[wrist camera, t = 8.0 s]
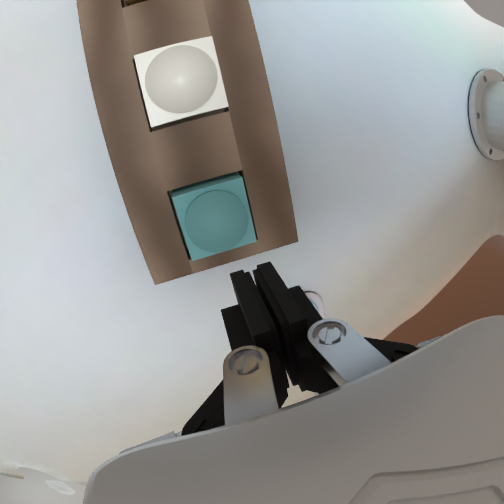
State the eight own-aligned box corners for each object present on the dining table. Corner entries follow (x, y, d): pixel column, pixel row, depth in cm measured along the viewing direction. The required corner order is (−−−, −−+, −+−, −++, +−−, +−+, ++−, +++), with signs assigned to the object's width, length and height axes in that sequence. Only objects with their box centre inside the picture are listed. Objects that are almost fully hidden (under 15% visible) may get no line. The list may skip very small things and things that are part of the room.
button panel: (220, -60, 16) (226, -76, 13) (285, 229, 28) (298, 241, 25) (81, -27, 14) (72, -41, 12) (156, 268, 27) (155, 284, 24)
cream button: (207, 46, 19) (213, 33, 15) (221, 108, 21) (230, 106, 18) (138, 64, 18) (132, 53, 15) (154, 127, 20) (150, 127, 17)
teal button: (234, 170, 24) (244, 178, 21) (247, 228, 26) (259, 244, 23) (172, 188, 23) (171, 199, 20) (189, 245, 25) (192, 264, 22)
